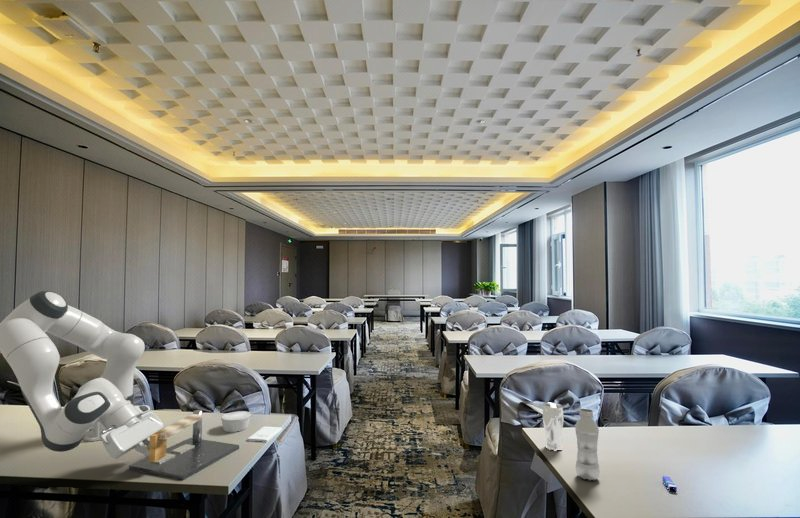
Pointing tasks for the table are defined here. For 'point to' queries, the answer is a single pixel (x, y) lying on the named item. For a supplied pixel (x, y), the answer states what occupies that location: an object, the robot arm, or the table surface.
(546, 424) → the beer glass
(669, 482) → the eraser
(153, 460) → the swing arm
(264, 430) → the external hard drive
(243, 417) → the ramekin
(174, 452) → the base plate
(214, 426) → the table surface
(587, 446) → the plastic bottle
